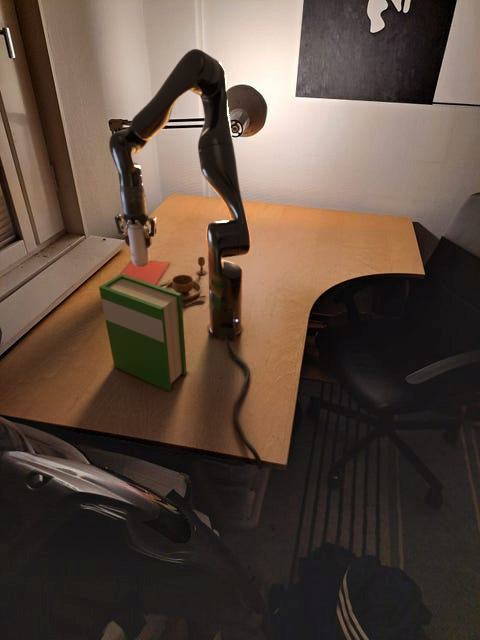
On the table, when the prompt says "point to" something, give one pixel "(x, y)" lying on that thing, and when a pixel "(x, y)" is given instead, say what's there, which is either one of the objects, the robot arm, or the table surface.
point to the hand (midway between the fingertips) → (139, 245)
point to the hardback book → (145, 329)
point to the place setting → (187, 284)
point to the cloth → (146, 271)
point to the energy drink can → (138, 245)
